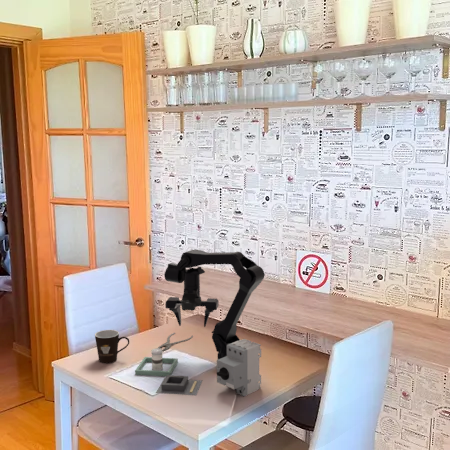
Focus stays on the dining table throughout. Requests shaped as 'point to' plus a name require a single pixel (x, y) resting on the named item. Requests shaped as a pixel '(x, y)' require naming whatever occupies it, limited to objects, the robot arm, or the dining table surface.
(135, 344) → the dining table surface
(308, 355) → the dining table surface
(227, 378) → the circuit breaker
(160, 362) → the white banded cylinder
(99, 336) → the coffee mug
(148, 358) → the parts tray
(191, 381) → the board
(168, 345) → the pliers
